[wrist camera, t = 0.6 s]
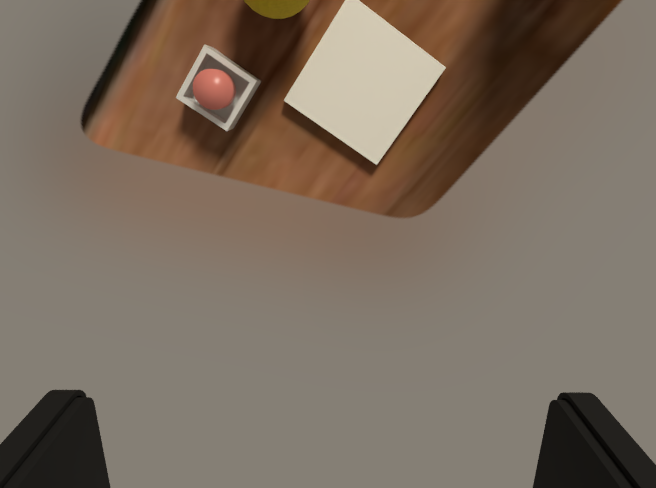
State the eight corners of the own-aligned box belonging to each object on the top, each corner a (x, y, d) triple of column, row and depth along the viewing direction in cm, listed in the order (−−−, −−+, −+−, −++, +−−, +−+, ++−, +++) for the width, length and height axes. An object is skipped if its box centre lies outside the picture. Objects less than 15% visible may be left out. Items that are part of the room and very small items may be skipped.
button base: (212, 47, 35) (204, 44, 33) (261, 81, 36) (256, 80, 34) (185, 96, 37) (175, 97, 34) (233, 128, 37) (227, 131, 35)
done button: (210, 61, 34) (204, 60, 32) (242, 84, 34) (239, 84, 33) (191, 94, 34) (185, 94, 33) (224, 116, 35) (219, 117, 34)
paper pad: (349, -5, 34) (349, -7, 33) (442, 67, 36) (446, 67, 35) (284, 100, 37) (283, 100, 36) (375, 163, 38) (376, 165, 37)
